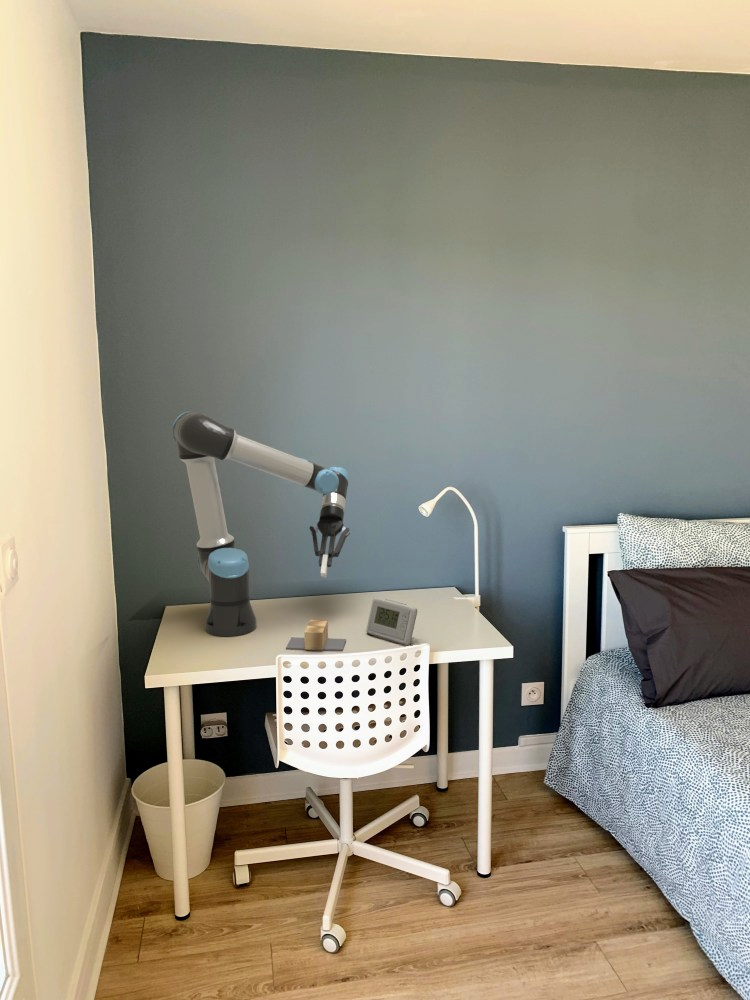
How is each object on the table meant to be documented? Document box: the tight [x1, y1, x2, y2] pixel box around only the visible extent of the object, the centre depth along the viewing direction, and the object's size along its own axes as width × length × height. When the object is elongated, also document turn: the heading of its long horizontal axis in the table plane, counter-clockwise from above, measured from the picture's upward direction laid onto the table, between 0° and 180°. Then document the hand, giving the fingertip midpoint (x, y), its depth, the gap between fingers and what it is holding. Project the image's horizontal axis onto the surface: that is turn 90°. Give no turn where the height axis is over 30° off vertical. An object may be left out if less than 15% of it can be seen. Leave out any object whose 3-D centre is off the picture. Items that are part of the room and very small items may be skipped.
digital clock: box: [365, 597, 418, 646], centre depth 224 cm, size 16×9×11 cm, turn 39°
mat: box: [285, 637, 347, 652], centre depth 220 cm, size 16×8×1 cm, turn 85°
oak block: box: [304, 619, 329, 651], centre depth 219 cm, size 5×5×10 cm
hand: (323, 575), depth 234 cm, fingers closed
